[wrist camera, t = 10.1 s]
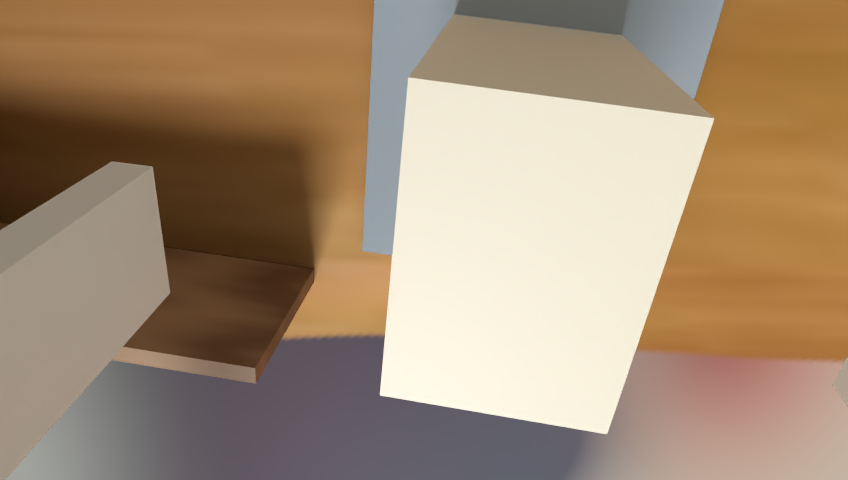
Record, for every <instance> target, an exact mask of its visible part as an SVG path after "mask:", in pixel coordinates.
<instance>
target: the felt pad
mask: <svg viewBox="0 0 848 480" xmlns="http://www.w3.org/2000/svg"><path fill="white" fill-rule="evenodd" d="M723 3H724V0H374V21H373V41H372V62H371V83H370V103H369V124H368V144H367V165H366V185H365V206H364V226H363V247H362V251H365V252H372V253H379V254H386V255H392V254H393V242H394V231H395V220H396V209H397V197H398V186H399V175H400V164H401V152H402V141H403V130H404V119H405V108H406V96H407V85H408V77H409V76H410V74H411V73H412V71H413V70H414V69H415V67H416V66H417V65H418V63H419V62H420V60H421V59H422V58H423V56H424V55H425V54H426V52H427V51H428V49H429V48H430V47H431V45H432V44H433V42H434V41H435V40H436V38H437V37H438V36H439V34H440V33H441V31H442V30H443V29H444V27H445V26H446V25H447V23H448V22H449V20H450V19H451V18H452V16H453V15H454V14H457V15H465V16H473V17H481V18H489V19H497V20H505V21H513V22H521V23H529V24H537V25H544V26H552V27H560V28H568V29H576V30H584V31H592V32H600V33H608V34H616V35H622V36H623V37H624V38H626V39H627V40H628V41H629V42H630V43H631V44H632V45H633V46H634V47H636V48H637V49H638V50H639V51H640V52H641V53H642V54H643V55H644V56H646V57H647V58H648V59H649V60H650V61H651V62H652V63H653V64H654V65H656V66H657V67H658V68H659V69H660V70H661V71H662V72H663V73H664V74H666V75H667V76H668V77H669V78H670V79H671V80H672V81H673V82H674V83H676V84H677V85H678V86H679V87H680V88H681V89H682V90H683V91H684V92H686V93H687V94H688V95H689V96H690V97H691V98H692V99H693V100H694V98H695V95H696V91H697V88H698V85H699V82H700V78H701V75H702V72H703V69H704V65H705V62H706V59H707V56H708V52H709V49H710V46H711V42H712V39H713V36H714V33H715V29H716V26H717V23H718V20H719V16H720V13H721V10H722V7H723Z"/></svg>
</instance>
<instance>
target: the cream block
mask: <svg viewBox="0 0 848 480" xmlns="http://www.w3.org/2000/svg"><path fill="white" fill-rule="evenodd" d="M713 121H714V118H713V117H712V116H711V115H710V114H709V113H708V112H707V111H706V110H704V109H703V108H702V107H701V106H700V105H699V104H698V103H697V102H696V101H694V100H693V99H692V98H691V97H690V96H689V95H688V94H687V93H686V92H684V91H683V90H682V89H681V88H680V87H679V86H678V85H677V84H676V83H674V82H673V81H672V80H671V79H670V78H669V77H668V76H667V75H666V74H664V73H663V72H662V71H661V70H660V69H659V68H658V67H657V66H656V65H654V64H653V63H652V62H651V61H650V60H649V59H648V58H647V57H646V56H644V55H643V54H642V53H641V52H640V51H639V50H638V49H637V48H636V47H634V46H633V45H632V44H631V43H630V42H629V41H628V40H627V39H626V38H624V37H623V36H622V35H616V34H608V33H600V32H592V31H584V30H576V29H568V28H560V27H552V26H544V25H537V24H529V23H521V22H513V21H505V20H497V19H489V18H481V17H473V16H465V15H457V14H454V15H453V16H452V18H451V19H450V20H449V22H448V23H447V25H446V26H445V27H444V29H443V30H442V31H441V33H440V34H439V36H438V37H437V38H436V40H435V41H434V42H433V44H432V45H431V47H430V48H429V49H428V51H427V52H426V54H425V55H424V56H423V58H422V59H421V60H420V62H419V63H418V65H417V66H416V67H415V69H414V70H413V71H412V73H411V74H410V76H409V77H408V85H407V96H406V108H405V119H404V130H403V141H402V152H401V164H400V175H399V186H398V197H397V209H396V220H395V231H394V242H393V254H392V265H391V276H390V287H389V299H388V310H387V321H386V332H385V344H384V355H383V366H382V377H381V388H380V395H381V396H387V397H393V398H399V399H405V400H410V401H416V402H422V403H428V404H434V405H440V406H445V407H451V408H457V409H463V410H469V411H475V412H480V413H487V414H492V415H498V416H504V417H510V418H515V419H521V420H527V421H533V422H539V423H545V424H550V425H556V426H562V427H569V428H574V429H580V430H586V431H591V432H597V433H603V434H607V433H608V430H609V427H610V424H611V421H612V418H613V415H614V412H615V409H616V406H617V404H618V400H619V398H620V395H621V392H622V389H623V386H624V383H625V380H626V377H627V374H628V371H629V368H630V365H631V362H632V359H633V356H634V353H635V351H636V348H637V345H638V342H639V339H640V336H641V333H642V330H643V327H644V324H645V321H646V318H647V315H648V312H649V309H650V306H651V303H652V300H653V298H654V295H655V292H656V289H657V286H658V283H659V280H660V277H661V274H662V271H663V268H664V265H665V262H666V259H667V256H668V253H669V250H670V247H671V245H672V242H673V239H674V236H675V233H676V230H677V227H678V224H679V221H680V218H681V215H682V212H683V209H684V206H685V203H686V200H687V197H688V194H689V192H690V189H691V186H692V183H693V180H694V177H695V174H696V171H697V168H698V165H699V162H700V159H701V156H702V153H703V150H704V147H705V144H706V141H707V139H708V136H709V133H710V130H711V127H712V124H713Z"/></svg>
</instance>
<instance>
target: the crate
mask: <svg viewBox="0 0 848 480" xmlns="http://www.w3.org/2000/svg"><path fill="white" fill-rule="evenodd" d="M8 225H10V224H6V223H0V230H2V229H3V228H5V227H6V226H8ZM164 252H165V259H166V266H167V273H168V280H169V288H170V294H169V295H168V296H167V297H166V298H165V299H164V301H163V302H162V303H161V304H160V305H159V306H158V307H157V308H156V310H155V311H154V312H153V313H152V314H151V315H150V316H149V318H148V319H147V320H146V321H145V322H144V323H143V324H142V325H141V327H140V328H139V329H138V330H137V331H136V332H135V333H134V334H133V336H132V337H131V338H130V339H129V340H128V341H127V342H126V344H125V345H124V346H123V347H122V348H121V349H120V350H119V351H118V353H117V354H116V355H115V356H114V357H113V358H112V359H111V360H116V361H122V362H128V363H134V364H141V365H146V366H152V367H159V368H165V369H170V370H177V371H184V372H189V373H195V374H201V375H207V376H213V377H220V378H226V379H232V380H238V381H244V382H250V383H257V381H258V379H259V377H260V376H261V374H262V372H263V370H264V369H265V367H266V365H267V363H268V362H269V360H270V358H271V356H272V354H273V353H274V351H275V349H276V347H277V346H278V344H279V342H280V340H281V339H282V337H283V335H284V333H285V332H286V330H287V328H288V326H289V325H290V323H291V321H292V319H293V318H294V316H295V314H296V312H297V311H298V309H299V307H300V305H301V304H302V302H303V300H304V298H305V297H306V295H307V293H308V291H309V290H310V288H311V286H312V284H313V283H314V269H310V268H304V267H297V266H290V265H283V264H276V263H270V262H263V261H256V260H249V259H243V258H236V257H229V256H222V255H216V254H209V253H202V252H195V251H189V250H182V249H175V248H168V247H164Z"/></svg>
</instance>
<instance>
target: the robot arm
mask: <svg viewBox="0 0 848 480" xmlns="http://www.w3.org/2000/svg"><path fill="white" fill-rule="evenodd" d="M169 294H170V288H169V280H168V273H167V266H166V259H165V252H164V244H163V237H162V230H161V223H160V216H159V208H158V201H157V194H156V187H155V180H154V172H153V166H145V165H137V164H129V163H121V162H114V161H112V162H110V163H108V164H107V165H105V166H104V167H102V168H100V169H99V170H97V171H95V172H94V173H92V174H91V175H89V176H87V177H86V178H84V179H83V180H81V181H79V182H78V183H76V184H74V185H73V186H71V187H70V188H68V189H66V190H65V191H63V192H61V193H60V194H58V195H57V196H55V197H53V198H52V199H50V200H48V201H47V202H45V203H44V204H42V205H40V206H39V207H37V208H36V209H34V210H32V211H31V212H29V213H27V214H26V215H24V216H23V217H21V218H19V219H18V220H16V221H14V222H13V223H11V224H10V225H8V226H6V227H5V228H3V229H2V230H0V480H5V479H6V478H7V477H8V476H9V475H10V474H11V472H12V471H13V470H14V469H15V468H16V467H17V465H19V463H20V462H21V461H22V460H23V459H24V458H25V457H26V455H27V454H28V453H29V452H30V451H31V450H32V449H33V448H34V446H35V445H36V444H37V443H38V442H39V441H40V440H41V438H42V437H43V436H44V435H45V434H46V433H47V432H48V431H49V429H50V428H51V427H52V426H53V425H54V424H55V423H56V422H57V420H58V419H59V418H60V417H61V416H62V415H63V414H64V412H65V411H66V410H67V409H68V408H69V407H70V406H71V405H72V403H73V402H74V401H75V400H76V399H77V398H78V397H79V396H80V394H81V393H82V392H83V391H84V390H85V389H86V388H87V387H88V385H89V384H90V383H91V382H92V381H93V380H94V379H95V377H96V376H97V375H98V374H99V373H100V372H101V371H102V369H103V368H104V367H105V366H106V365H107V364H108V363H109V362H110V361H111V359H112V358H113V357H114V356H115V355H116V354H117V353H118V351H119V350H120V349H121V348H122V347H123V346H124V345H125V344H126V342H127V341H128V340H129V339H130V338H131V337H132V336H133V334H134V333H135V332H136V331H137V330H138V329H139V328H140V327H141V325H142V324H143V323H144V322H145V321H146V320H147V319H148V318H149V316H150V315H151V314H152V313H153V312H154V311H155V310H156V308H157V307H158V306H159V305H160V304H161V303H162V302H163V301H164V299H165V298H166V297H167V296H168V295H169ZM833 387H834V388H835V389H836V391H837V392H838V394H839V395H840V396H841V398H842V399H843V400H844V402H845V403H846V405H847V406H848V357H847V359H846V361H845V363H844V365H843V366H842V369H841V370H840V372H839V374H838V376H837V378H836V379H835V381H834V383H833Z"/></svg>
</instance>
